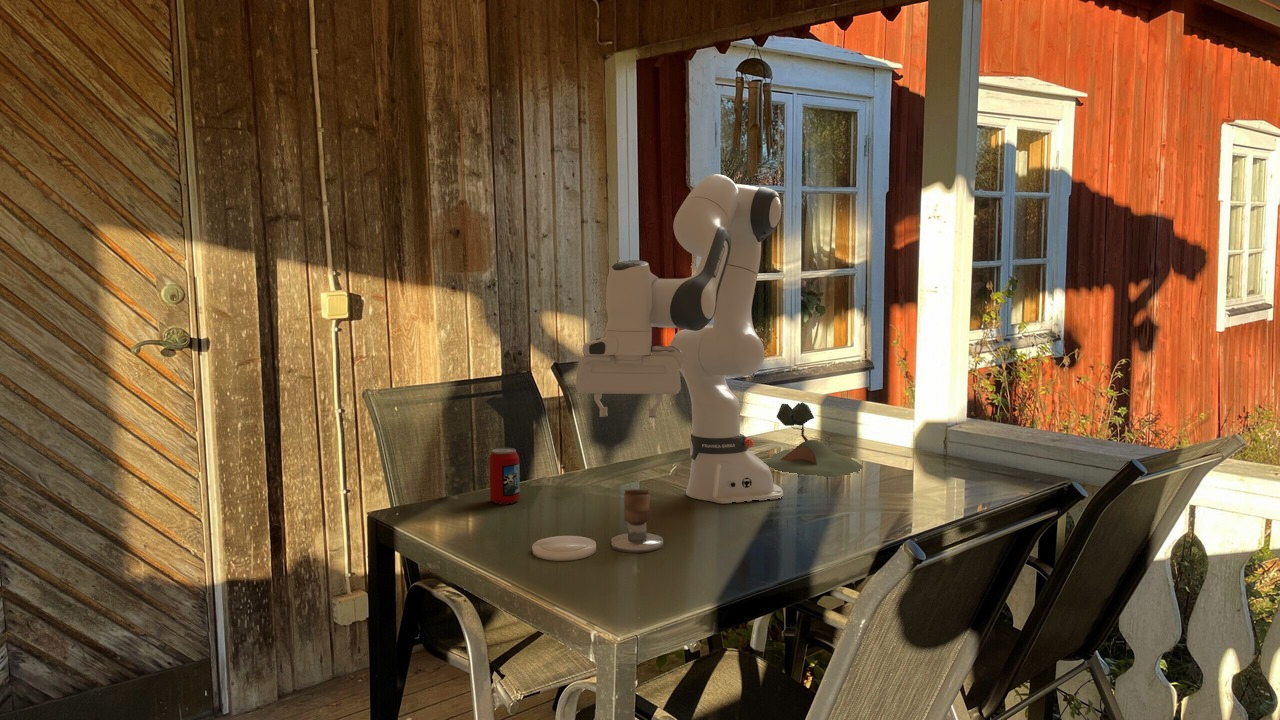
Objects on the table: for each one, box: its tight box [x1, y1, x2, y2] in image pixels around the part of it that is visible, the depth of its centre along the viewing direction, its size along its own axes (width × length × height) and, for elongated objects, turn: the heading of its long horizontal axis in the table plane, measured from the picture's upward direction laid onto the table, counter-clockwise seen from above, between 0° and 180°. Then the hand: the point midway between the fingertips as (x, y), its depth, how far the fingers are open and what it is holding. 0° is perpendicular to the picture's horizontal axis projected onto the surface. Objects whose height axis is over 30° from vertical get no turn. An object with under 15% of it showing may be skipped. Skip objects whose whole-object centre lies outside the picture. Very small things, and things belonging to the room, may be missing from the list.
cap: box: [623, 488, 650, 523], centre depth 182 cm, size 5×5×6 cm
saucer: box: [532, 535, 597, 562], centre depth 180 cm, size 12×12×1 cm
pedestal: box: [610, 522, 664, 554], centre depth 183 cm, size 10×10×5 cm
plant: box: [764, 401, 864, 477], centre depth 254 cm, size 29×35×18 cm
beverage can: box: [488, 447, 521, 505], centre depth 218 cm, size 7×7×12 cm
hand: (628, 417), depth 184 cm, fingers open, 8 cm apart
